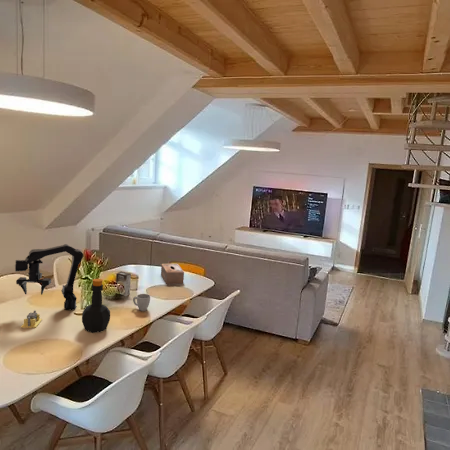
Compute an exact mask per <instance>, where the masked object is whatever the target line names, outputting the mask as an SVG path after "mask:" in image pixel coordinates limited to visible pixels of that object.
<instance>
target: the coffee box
mask: <svg viewBox="0 0 450 450" xmlns="http://www.w3.org/2000/svg"><path fill="white" fill-rule="evenodd" d="M115 275H116V276H115V284H116V283H117V284H120V285H123V286H124V290H125V293H124V296H123V297H127V296H129V295H130V294H131V282H132V281H131V278H132V273H131V272H125V271H121V270H120V271H119V272H117V273H115Z"/></svg>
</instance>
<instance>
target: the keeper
mask: <svg viewBox="0 0 450 450" xmlns="http://www.w3.org/2000/svg"><path fill="white" fill-rule="evenodd" d="M32 313H37V310H33V312H32ZM40 317H41V316H40V313H37V321H36V319H30V317H28V319H27V318H23V324H22V325H21V326H20V327H21V328H24V329H25V328H27V329H37V327H38V326H39V325H40V323H41V322H42V321H43V319H42V318H40Z"/></svg>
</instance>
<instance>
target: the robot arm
mask: <svg viewBox="0 0 450 450" xmlns="http://www.w3.org/2000/svg"><path fill="white" fill-rule="evenodd" d="M65 252H66V253H67V254H69V255H70V256H71V265H70V270H69V273H68V277H67V281H66V283H65V285H64V284H63V285H62V288H61V294H62V296H63V298H64V299H65V300H64V303H63V307H64V311H75V310H76V308H77V299H78V298H77V296H76V295H75V293H74V284H75V280H76V276H77V273H78V269H79V265H80V264H81V262H82V260H83V258H84V253H83V252H82V250H81V249H78V248H74V247H73V246H70V245H69V244H67V243H65V244H62V245H57V246H53V247H48V248H36V249H35V248H33V249H31V250H29V252H28V255H27V256H26V257H25V259H16V260H15V264H14V272H26V271H27V270H28V274H27V275H28V278H27V277H25V276H24V277H21V276H20V277H18V278H17V279H16V280H15V281H16V282H15V284H16V285H18V286H19V287H20V288H21V289H22V291H23V292H24V294H25V295H27V293H28V292H27V291H28V290H27V283H28V284H29V283H35V284H36V283H37V284H41V286H40V288H41V289H40V295H41V296H42V295H43V294H44V291H45V289H46V288H47V286H49V285H51V283H52V279H51V278H50V277H49V278H48V277H44V278H43V273H42V272H41V271H40V264H44V263H43V260H42V259H43V258H44V257H47V256H51V255H55V254H56V255H57V254H61V253H65ZM42 278H43V279H42Z"/></svg>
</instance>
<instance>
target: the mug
mask: <svg viewBox="0 0 450 450" xmlns="http://www.w3.org/2000/svg"><path fill="white" fill-rule="evenodd" d="M132 298H133V299H132V303H133V304H134V305H135V306H137V308H138V310H139V311H141V312H146V311H148V308H149V307H150V301H151V295H150V294H148V293H140V294H137V295H136V296H134V297H132Z"/></svg>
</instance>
